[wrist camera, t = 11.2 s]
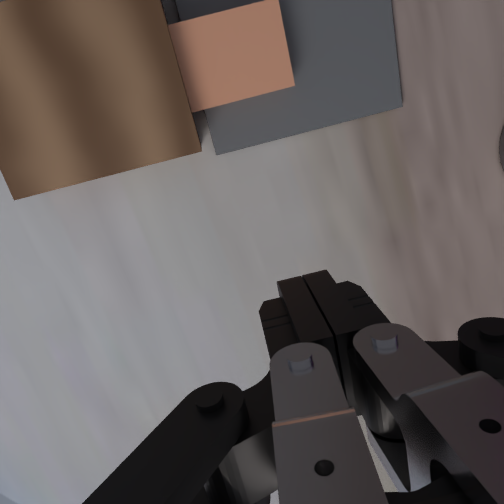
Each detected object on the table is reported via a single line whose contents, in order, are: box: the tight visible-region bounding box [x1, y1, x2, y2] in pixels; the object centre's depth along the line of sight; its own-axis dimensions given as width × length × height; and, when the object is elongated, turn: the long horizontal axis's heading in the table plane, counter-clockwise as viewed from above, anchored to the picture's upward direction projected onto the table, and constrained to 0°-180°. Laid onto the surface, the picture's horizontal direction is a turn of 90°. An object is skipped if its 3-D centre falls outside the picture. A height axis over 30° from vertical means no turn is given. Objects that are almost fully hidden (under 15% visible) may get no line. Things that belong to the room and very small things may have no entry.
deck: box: [0, 0, 202, 200], centre depth 31 cm, size 14×12×4 cm
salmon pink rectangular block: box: [168, 0, 295, 113], centre depth 32 cm, size 8×6×2 cm
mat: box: [175, 0, 403, 155], centre depth 34 cm, size 16×14×1 cm
